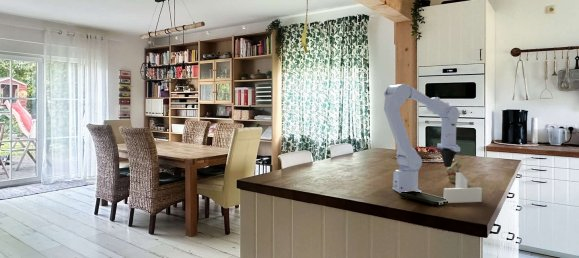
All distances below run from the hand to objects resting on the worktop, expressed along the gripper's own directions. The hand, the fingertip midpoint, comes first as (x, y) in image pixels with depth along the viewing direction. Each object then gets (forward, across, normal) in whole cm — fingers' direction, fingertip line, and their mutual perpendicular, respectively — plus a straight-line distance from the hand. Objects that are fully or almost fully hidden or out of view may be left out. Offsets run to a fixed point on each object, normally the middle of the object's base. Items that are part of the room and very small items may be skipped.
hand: (447, 166), depth 159 cm
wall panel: (+9, -21, +6) cm, 24 cm away
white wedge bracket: (+10, -15, +2) cm, 18 cm away
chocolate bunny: (+10, +13, -12) cm, 20 cm away
